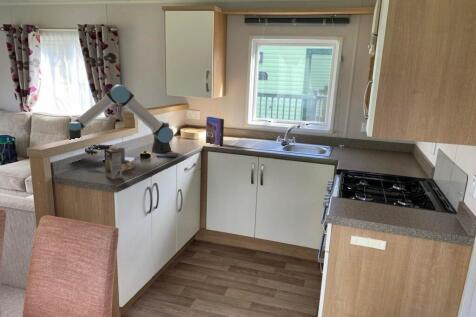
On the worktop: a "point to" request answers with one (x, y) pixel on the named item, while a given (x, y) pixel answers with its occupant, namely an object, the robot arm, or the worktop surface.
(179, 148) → the worktop surface
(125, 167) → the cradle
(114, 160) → the coffee box
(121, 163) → the battery cell
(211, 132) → the cereal box
